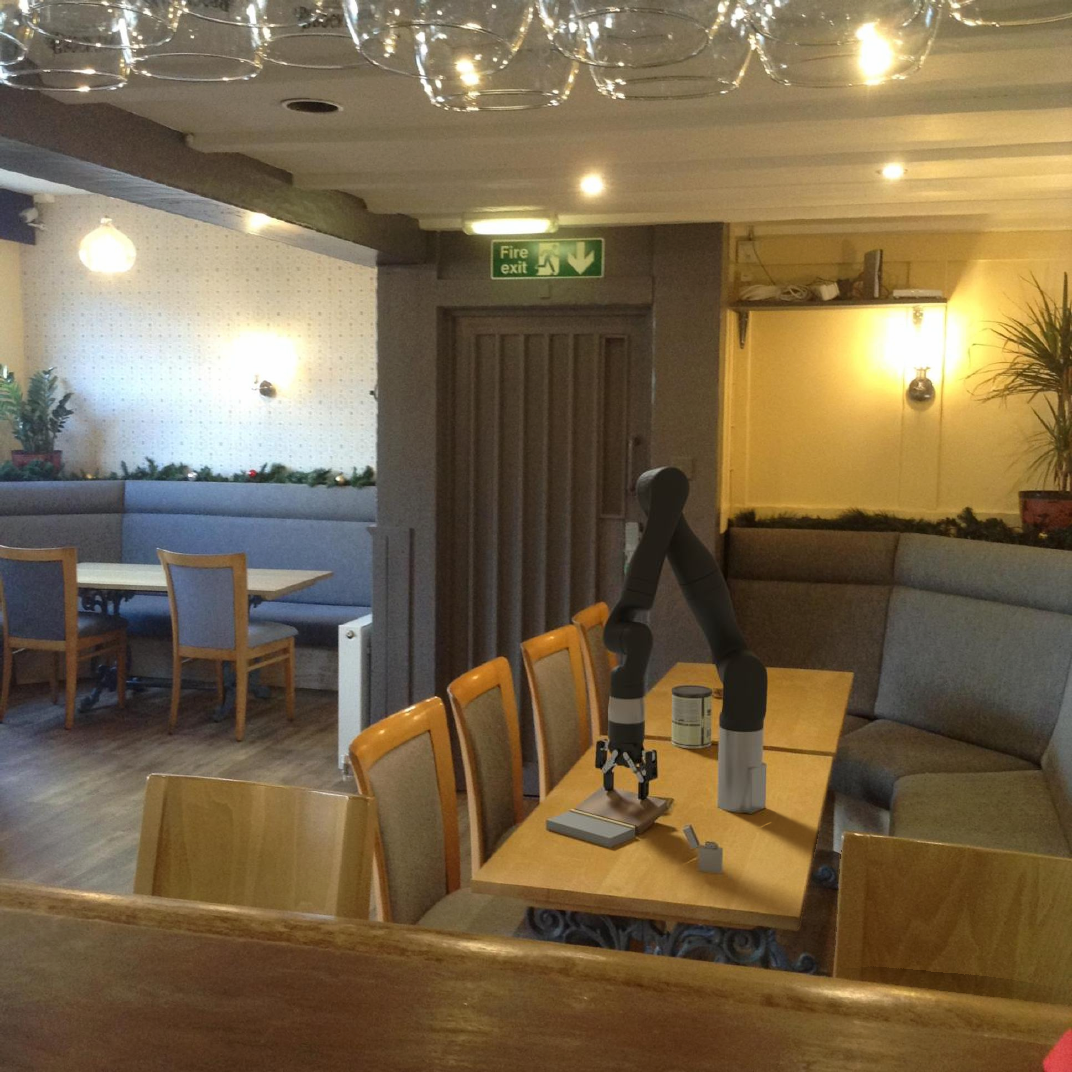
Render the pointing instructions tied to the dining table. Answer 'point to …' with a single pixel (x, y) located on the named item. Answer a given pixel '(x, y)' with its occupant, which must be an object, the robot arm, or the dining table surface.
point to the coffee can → (691, 716)
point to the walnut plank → (624, 807)
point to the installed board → (591, 828)
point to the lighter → (705, 852)
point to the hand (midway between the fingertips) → (625, 794)
